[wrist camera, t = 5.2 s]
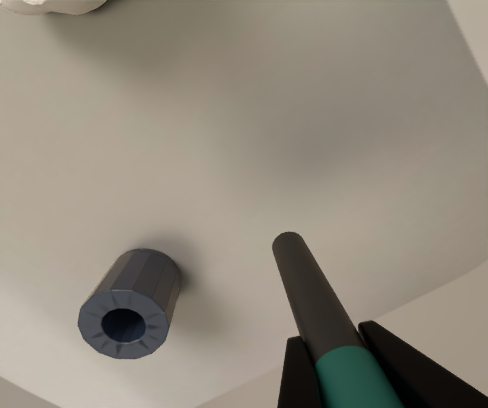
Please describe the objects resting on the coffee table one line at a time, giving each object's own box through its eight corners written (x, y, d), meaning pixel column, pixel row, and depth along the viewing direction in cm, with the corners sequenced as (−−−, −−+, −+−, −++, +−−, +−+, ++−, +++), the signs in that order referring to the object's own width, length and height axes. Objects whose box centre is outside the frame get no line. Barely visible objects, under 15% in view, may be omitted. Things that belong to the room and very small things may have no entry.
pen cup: (188, 257, 21) (177, 300, 16) (172, 313, 23) (157, 366, 18) (117, 239, 20) (84, 279, 16) (105, 299, 22) (72, 351, 17)
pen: (310, 235, 13) (466, 469, 5) (297, 264, 14) (416, 525, 5) (278, 226, 13) (380, 457, 4) (266, 256, 13) (336, 517, 5)
